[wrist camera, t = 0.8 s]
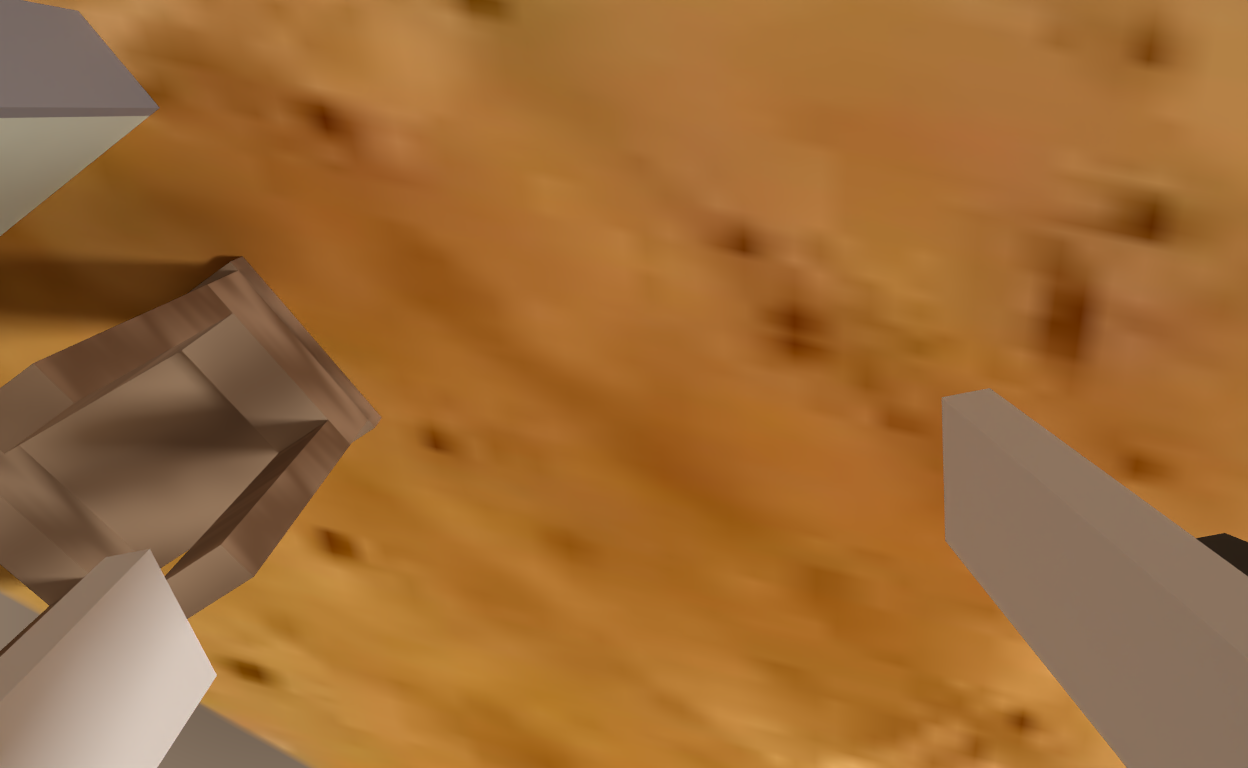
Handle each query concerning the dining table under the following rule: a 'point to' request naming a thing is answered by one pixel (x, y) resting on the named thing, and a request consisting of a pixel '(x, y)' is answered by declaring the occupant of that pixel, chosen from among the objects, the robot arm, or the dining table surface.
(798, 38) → the dining table surface
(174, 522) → the u-shaped post stand
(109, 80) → the cream rectangular block
